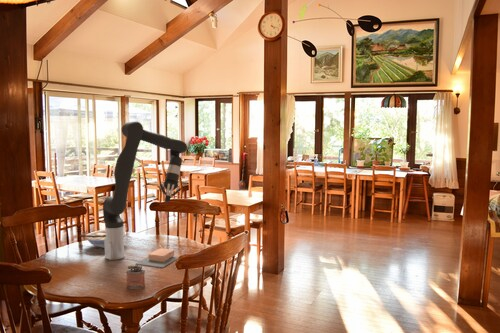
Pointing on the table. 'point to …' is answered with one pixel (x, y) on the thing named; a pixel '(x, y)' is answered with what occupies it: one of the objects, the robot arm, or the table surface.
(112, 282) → the table surface
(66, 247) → the table surface
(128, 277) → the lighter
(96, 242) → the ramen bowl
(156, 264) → the rubber mat
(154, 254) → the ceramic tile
